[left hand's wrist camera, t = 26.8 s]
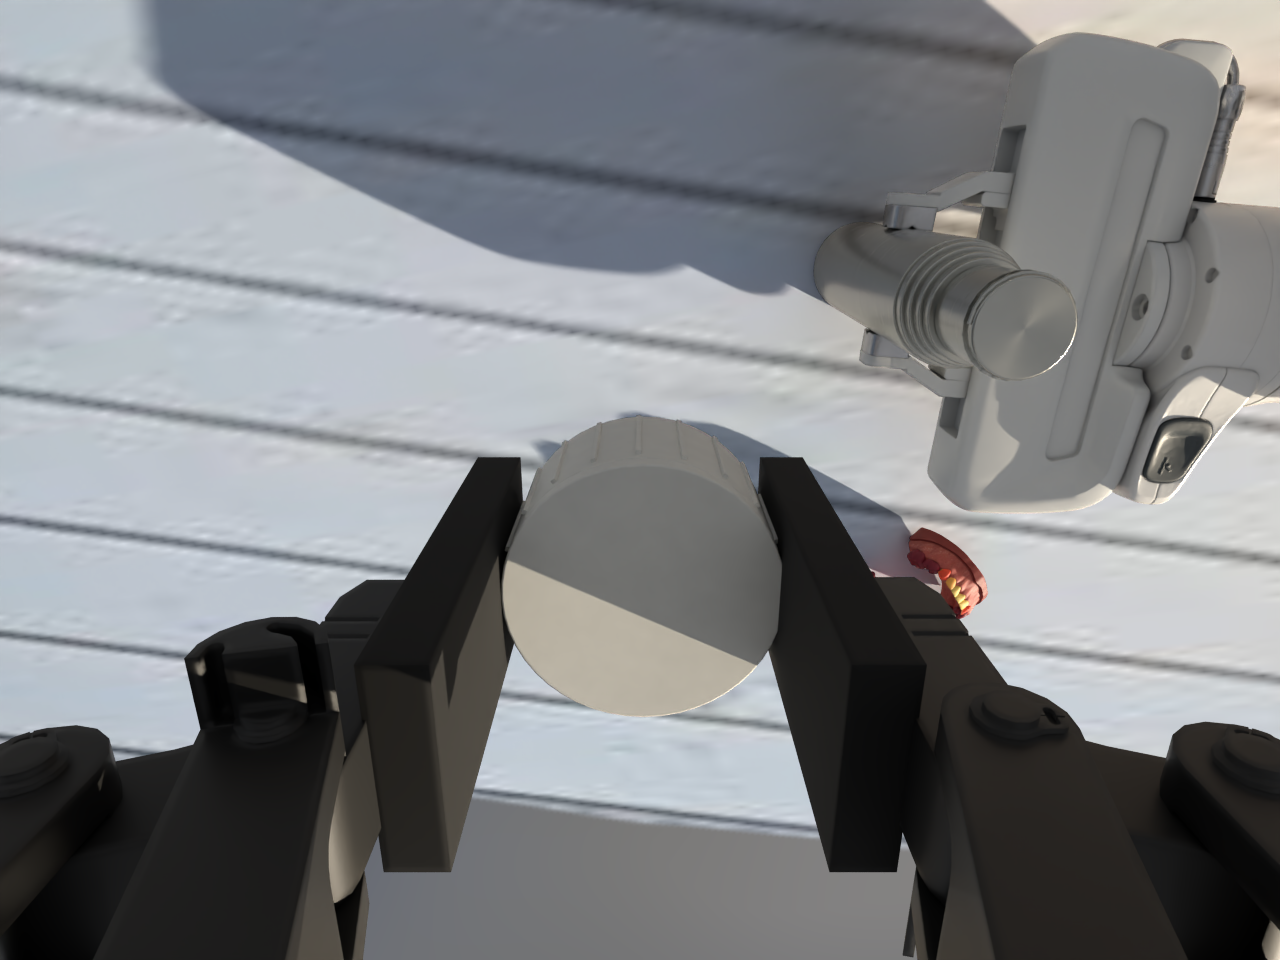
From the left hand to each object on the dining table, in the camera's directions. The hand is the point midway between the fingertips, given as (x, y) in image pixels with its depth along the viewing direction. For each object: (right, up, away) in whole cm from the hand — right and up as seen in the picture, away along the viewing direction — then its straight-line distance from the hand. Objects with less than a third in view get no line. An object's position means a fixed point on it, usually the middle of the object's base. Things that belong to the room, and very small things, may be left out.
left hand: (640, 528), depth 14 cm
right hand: (+10, +10, +21) cm, 25 cm away
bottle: (+11, +12, +27) cm, 32 cm away
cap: (0, -1, -2) cm, 2 cm away
